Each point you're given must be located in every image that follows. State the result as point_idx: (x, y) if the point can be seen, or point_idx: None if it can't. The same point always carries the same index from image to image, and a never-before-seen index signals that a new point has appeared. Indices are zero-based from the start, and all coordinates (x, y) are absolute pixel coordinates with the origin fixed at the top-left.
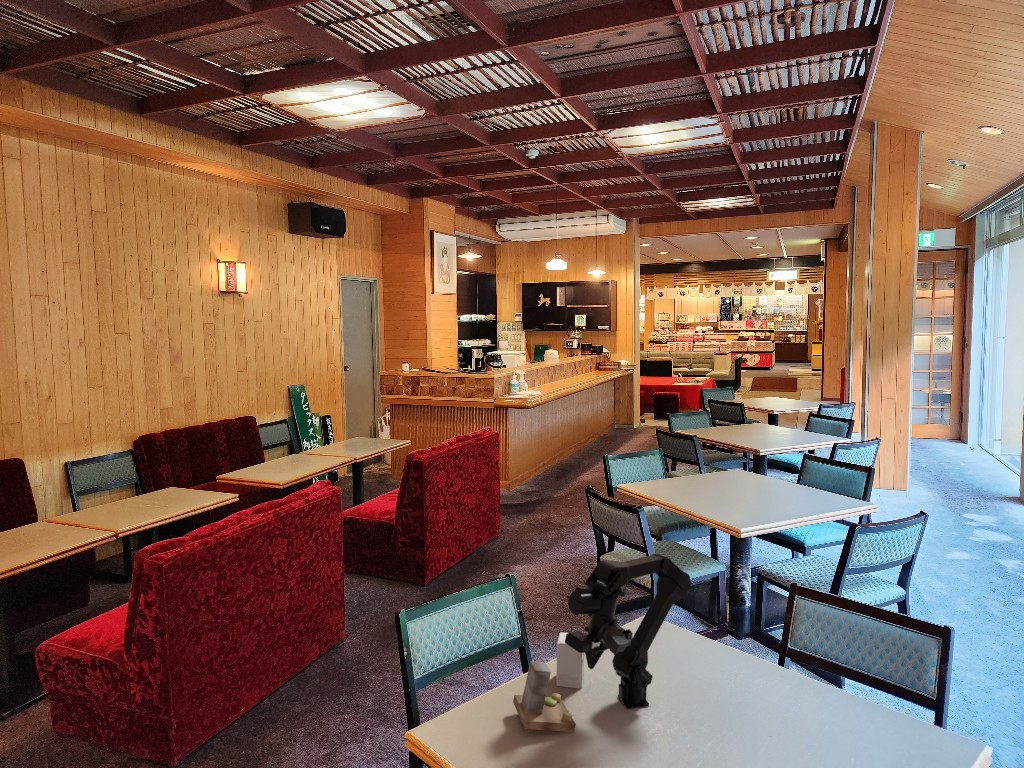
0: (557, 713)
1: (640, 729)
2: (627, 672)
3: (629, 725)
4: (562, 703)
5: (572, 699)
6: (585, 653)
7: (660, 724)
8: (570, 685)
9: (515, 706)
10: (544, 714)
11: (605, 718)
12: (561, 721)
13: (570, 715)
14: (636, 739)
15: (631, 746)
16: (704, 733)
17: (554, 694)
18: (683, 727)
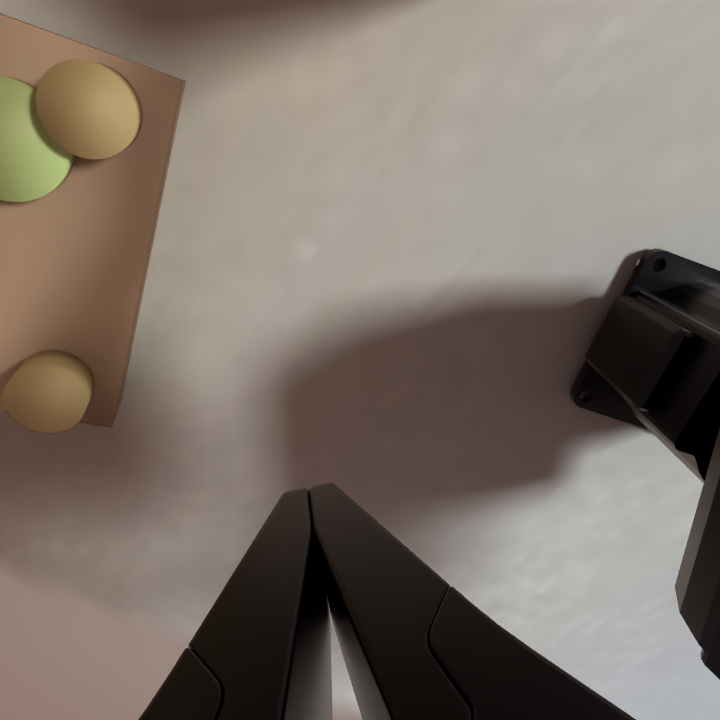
0: (17, 294)
1: (471, 557)
2: (701, 632)
3: (450, 508)
4: (148, 168)
5: (335, 69)
6: (176, 682)
7: (591, 576)
8: None
9: None
10: None
11: (381, 394)
12: (2, 390)
13: (66, 412)
14: None
15: None
16: (685, 700)
17: (71, 87)
18: (656, 638)
